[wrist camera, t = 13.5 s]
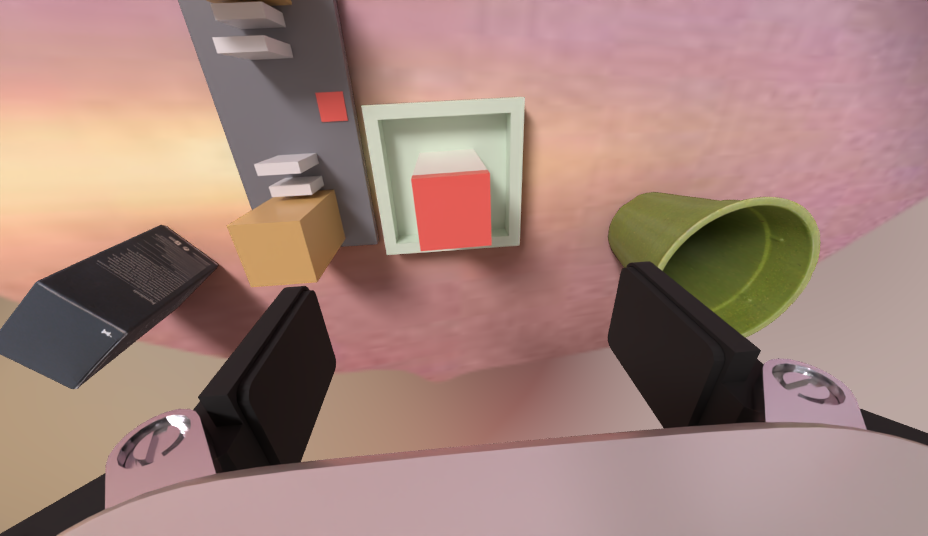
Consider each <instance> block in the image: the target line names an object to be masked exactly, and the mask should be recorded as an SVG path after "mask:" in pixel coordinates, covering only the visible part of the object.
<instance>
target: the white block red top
mask: <svg viewBox="0 0 928 536" xmlns="http://www.w3.org/2000/svg"><path fill="white" fill-rule="evenodd" d="M411 183H412V190H413V198H414V205H415V213H416V220H417V228H418V235H419V243H420V250H421V251H431V250H443V249H455V248H467V247H478V246H490V245H492V238H491V195H490V172H489V171H488V170H487V168H486V167H485V165H484V164H483V162H482V161H481V159H480V158H479V157H478V155H477V154H476V152H475V151H474V149H464V150H450V151H437V152H423V153H419V156H418V159H417V162H416V165H415V168H414V172H413V175H412V178H411Z"/></svg>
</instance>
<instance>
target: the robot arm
mask: <svg viewBox="0 0 928 536" xmlns="http://www.w3.org/2000/svg"><path fill="white" fill-rule="evenodd" d="M608 343H609V346H610V348H611V350H612V351H613V353H614V354H615V355H616V357H617V359H618V360H619V361H620V363H621V365H622V366H623V368H624V369H625V371H626V372H627V374H628V375H629V377H630V378H631V380H632V381H633V383H634V384H635V386H636V387H637V389H638V390H639V392H640V393H641V395H642V396H643V398H644V399H645V401H646V402H647V404H648V405H649V407H650V408H651V410H652V411H653V413H654V414H655V416H656V417H657V419H658V420H659V421H660V423H661V425H662V426H663V428H664V429H653V430H642V431H630V432H618V433H606V434H594V435H583V436H571V437H560V438H549V439H538V440H526V441H515V442H505V443H493V444H482V445H471V446H461V447H450V448H439V449H429V450H418V451H408V452H398V453H388V454H378V455H367V456H356V457H346V458H335V459H326V460H317V461H308V462H301V460H302V457H303V454H304V451H305V449H306V446H307V444H308V441H309V438H310V436H311V433H312V430H313V427H314V425H315V422H316V420H317V417H318V414H319V411H320V409H321V406H322V403H323V401H324V398H325V395H326V393H327V390H328V387H329V385H330V382H331V379H332V377H333V374H334V371H335V368H336V359H335V355H334V352H333V348H332V345H331V342H330V339H329V335H328V332H327V329H326V325H325V322H324V319H323V316H322V312H321V309H320V306H319V303H318V299H317V296H316V293H315V292H314V291H313V290H309V289H308V287H306V286H299V287H286V288H284V289H283V290H282V291H281V292H280V294H279V295H278V296H277V298H276V299H275V300H274V301H273V303H272V304H271V305H270V306H269V308H268V309H267V310H266V311H265V313H264V314H263V315H262V317H261V318H260V319H259V320H258V322H257V323H256V324H255V325H254V327H253V328H252V329H251V331H250V332H249V333H248V334H247V336H246V337H245V338H244V339H243V341H242V342H241V343H240V344H239V346H238V347H237V348H236V350H235V351H234V352H233V353H232V355H231V356H230V357H229V358H228V360H227V361H226V362H225V363H224V365H223V366H222V367H221V369H220V370H219V371H218V372H217V374H216V375H215V376H214V377H213V379H212V380H211V381H210V383H209V384H208V385H207V386H206V388H205V389H204V390H203V391H202V393H201V394H200V395H199V396H198V398H199V400H200V402H199V403H198V405H197V406H196V407H195V408H194V410H190V409H177V410H172V411H169V412H165V413H163V414H160V415H158V416H155V417H153V418H151V419H149V420H147V421H146V422H144V423H142V424H140V425H139V426H137V427H136V428H135V429H133V430H132V431H131V432H129V433H128V434H127V435H126V436H125V437H124V438H123V439H122V440H121V441H120V442H119V443H118V444H117V445H116V446H115V447H114V449H113V450H112V452H111V453H110V455H109V456H108V459H107V463H106V473H105V474H103V475H101V476H100V477H98V478H96V479H94V480H93V481H91V482H89V483H88V484H86V485H84V486H82V487H81V488H79V489H77V490H75V491H74V492H72V493H70V494H68V495H67V496H65V497H63V498H61V499H60V500H58V501H56V502H55V503H53V504H51V505H49V506H48V507H46V508H44V509H42V510H41V511H39V512H37V513H35V514H34V515H32V516H30V517H28V518H27V519H25V520H23V521H22V522H20V523H18V524H16V525H15V526H13V527H11V528H10V529H8V530H6V531H4V532H2V533H1V534H0V536H928V433H925V432H923V431H920V430H917V429H915V428H912V427H909V426H906V425H904V424H901V423H898V422H895V421H893V420H890V419H887V418H884V417H882V416H879V415H876V414H873V413H871V412H868V411H865V410H863V409H860V408H859V405H858V403H857V400H856V398H855V396H854V394H853V393H852V391H851V390H850V389H849V388H848V387H847V386H846V385H845V384H844V383H843V382H841V381H840V380H838V379H836V378H835V377H834V376H832V375H831V374H829V373H827V372H825V371H823V370H821V369H819V368H817V367H814V366H812V365H809V364H806V363H803V362H799V361H795V360H791V359H779V358H778V359H772V360H769V361H767V362H766V363H764V364H762V363H761V362H760V361H759V360H758V359H757V357H758V355H759V353H760V351H761V350H760V349H759V348H757V347H756V346H755V345H754V344H752V343H751V342H750V341H749V340H748V339H746V338H745V337H744V336H743V335H741V334H740V333H739V332H738V331H736V330H735V329H734V328H733V327H731V326H730V325H729V324H728V323H726V322H725V321H724V320H723V319H722V318H720V317H719V316H718V315H717V314H715V313H714V312H713V311H712V310H710V309H709V308H708V307H707V306H705V305H704V304H703V303H702V302H700V301H699V300H698V299H697V298H695V297H694V296H693V295H692V294H690V293H689V292H688V291H687V290H686V289H684V288H683V287H682V286H681V285H679V284H678V283H677V282H676V281H674V280H673V279H672V278H671V277H669V276H668V275H667V274H666V273H664V272H663V271H662V270H661V269H659V268H658V267H657V266H656V265H654V264H653V263H652V262H650V261H646V262H632V263H629V264H628V265H627V266H626V268H623V269H622V271H621V274H620V279H619V284H618V289H617V294H616V299H615V304H614V308H613V313H612V318H611V323H610V328H609V333H608Z"/></svg>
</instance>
